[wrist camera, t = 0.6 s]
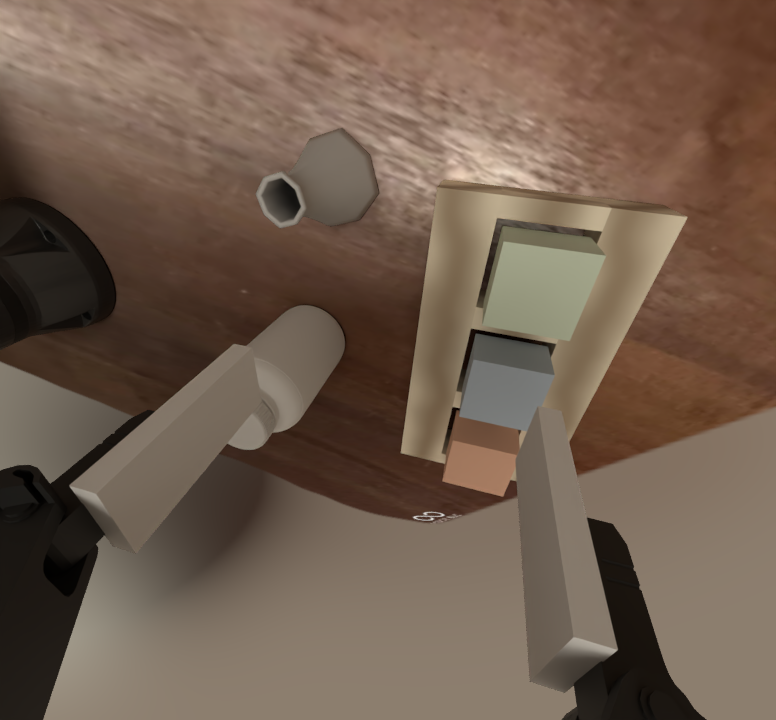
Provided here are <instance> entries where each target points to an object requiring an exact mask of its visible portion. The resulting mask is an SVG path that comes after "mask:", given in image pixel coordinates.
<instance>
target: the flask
mask: <svg viewBox="0 0 776 720" xmlns="http://www.w3.org/2000/svg"><path fill="white" fill-rule="evenodd" d="M378 194H379V191H378V187H377V182H376V178H375V174H374V170H373V166H372V162H371V158H370V154H369V153H368V152H366V151H365V150H364V149H363V148H362V147H361V146H360V145H359V144H358V143H357V142H356V141H355V140H354V139H353V138H352V137H351V136H350V135H349V134H348V133H347V132H345V131H344V130H343V129H342V128H340V129H337V130H334V131H331V132H328V133H325V134H322V135H319V136H316V137H313V138H310V139H309V141H308V143H307V145H306V147H305V148H304V150H303V152H302V154H301V156H300V158H299V160H298V161H297V163H296V164H295V166H294V168H293V169H292V170H291V171H290V172H289V173H286V172H284V171H281V172H278V173H275V174H272V175H268V176H265V177H264V178H263V180H262V182H261V184H260V186H259V188H258V190H257V192H256V196H257V199H258V201H259V204H260V206H261V209H262V211H263V214H264V215H265V216H266V217H267V218H268V219H269V220H270V221H272V222H273V223H274V224H275V225H276V226H278V227H279V228H284V227H288V226H292V225H296V224H298V223H299V222H300V220H301V218H302V217H308V218H311V219H314V220H317V221H319V222H321V223H324V224H326V225H328V226H336V225H340V224H344V223H349V222H353V221H357V220H360V219H361V218H362V216H363V215H364V213H365V212H366V211H367V209H368V208H369V206H370V205H371V204H372V202H373V201H374V199H375V198H376V197H377V195H378Z"/></svg>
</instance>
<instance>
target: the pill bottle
mask: <svg viewBox="0 0 776 720" xmlns="http://www.w3.org/2000/svg"><path fill="white" fill-rule="evenodd" d="M247 347H252V350H253V356H254V361H255V367H256V373H257V378H258V384H259V389H260V395H261V400H262V402H261V403H260V404H259V405H258V407H257V408H256V409H255V410H254V411H253V413H252V414H251V415H250V416H249V418H248V419H247V420H246V421H245V422H244V424H243V425H242V426H241V427H240V428H239V430H238V431H237V432H236V433H235V434H234V436H233V437H232V438H231V439H230V441H229V442H228V444H229V445H231V446H234V447H236V448H239V449H244V450H253V449H257V448H259V447H261V446H263V445H264V444H265V442H266V441H267V440H268V438H269V437H270V436H271V434H272V433H273V432H281V431H284V430H287V429H289V428H290V427H292V426H293V425H295V424H296V423H297V422H298V421H299V420H300V419H301V417H302V416H303V414H304V413H305V411H306V410H307V408H308V407H309V405H310V404H311V403H312V401H313V400H314V398H315V397H316V395H317V394H318V392H319V391H320V389H321V388H322V386H323V385H324V383H325V382H326V380H327V379H328V377H329V376H330V374H331V373H332V371H333V370H334V368H335V367H336V365H337V364H338V362H339V361H340V359H341V357H342V355H343V353H344V349H345V338H344V334H343V331H342V329H341V327H340V325H339V324H338V323H337V321H336V320H335V319H334V318H333V317H332V316H331V315H330V314H328V313H327V312H325V311H324V310H322V309H320V308H317V307H314V306H309V305H300V306H296V307H293V308H291V309H289V310H288V311H286V312H285V313H283V314H282V315H281V316H280V317H279V318H278V319H276V320H275V321H274V322H273V323H272V324H271V325H270V326H268V327H267V328H266V329H265V330H264V331H263V332H262V333H260V334H259V335H258V336H257V337H256V338H255V339H254V340H252V341H251V342H250V343H249V344H248V345H247Z"/></svg>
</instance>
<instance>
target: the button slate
mask: <svg viewBox="0 0 776 720" xmlns="http://www.w3.org/2000/svg"><path fill="white" fill-rule="evenodd" d="M554 376H555V374H554V370H553V365H552V361H551V357H550V353H549V349H548V346H542V345H537V344H531V343H526V342H520V341H515V340H509V339H504V338H498V337H493V336H487V335H482V334H475V338H474V342H473V347H472V351H471V355H470V359H469V363H468V367H467V371H466V375H465V379H464V383H463V387H462V395H461V404H460V412H459V417H463V418H468V419H473V420H477V421H482V422H486V423H491V424H495V425H500V426H504V427H509V428H513V429H518V430H522V431H528V428H529V426H530V423H531V421H532V419H533V416H534V414H535V411H536V409H537V407H538V406H540V407H542V404H543V402H544V400H545V397H546V395H547V393H548V390H549V388H550V386H551V383H552V381H553V379H554Z"/></svg>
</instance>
